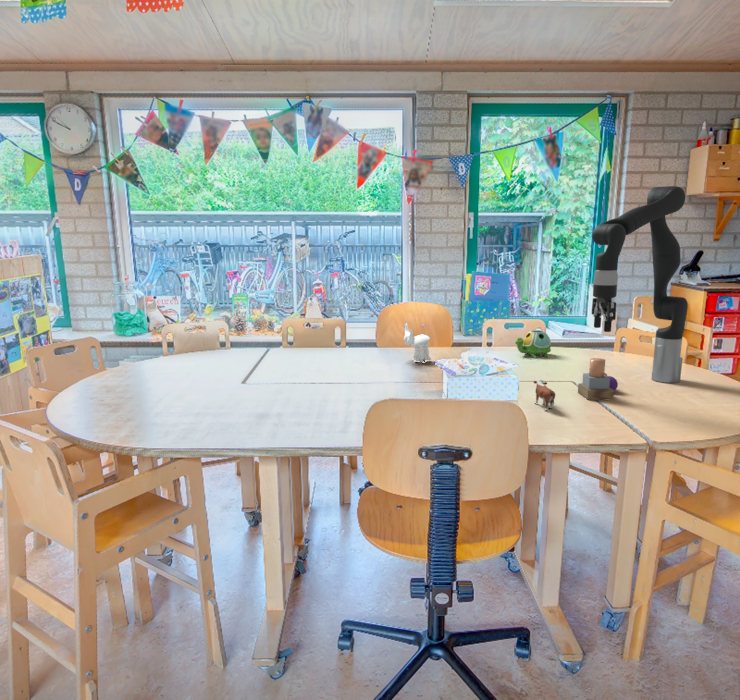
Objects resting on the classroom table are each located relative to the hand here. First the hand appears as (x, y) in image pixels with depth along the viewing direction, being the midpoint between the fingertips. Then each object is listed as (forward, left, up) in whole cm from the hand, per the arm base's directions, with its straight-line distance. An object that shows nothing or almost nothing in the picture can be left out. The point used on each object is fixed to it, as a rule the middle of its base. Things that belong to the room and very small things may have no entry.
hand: (602, 329), depth 191 cm
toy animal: (+60, -59, -25) cm, 87 cm away
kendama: (-9, -13, -25) cm, 29 cm away
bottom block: (+1, 0, -25) cm, 25 cm away
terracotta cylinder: (+1, 0, -17) cm, 17 cm away
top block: (+1, 0, -21) cm, 21 cm away
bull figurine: (+23, +11, -25) cm, 35 cm away
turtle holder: (+3, -69, -25) cm, 73 cm away
